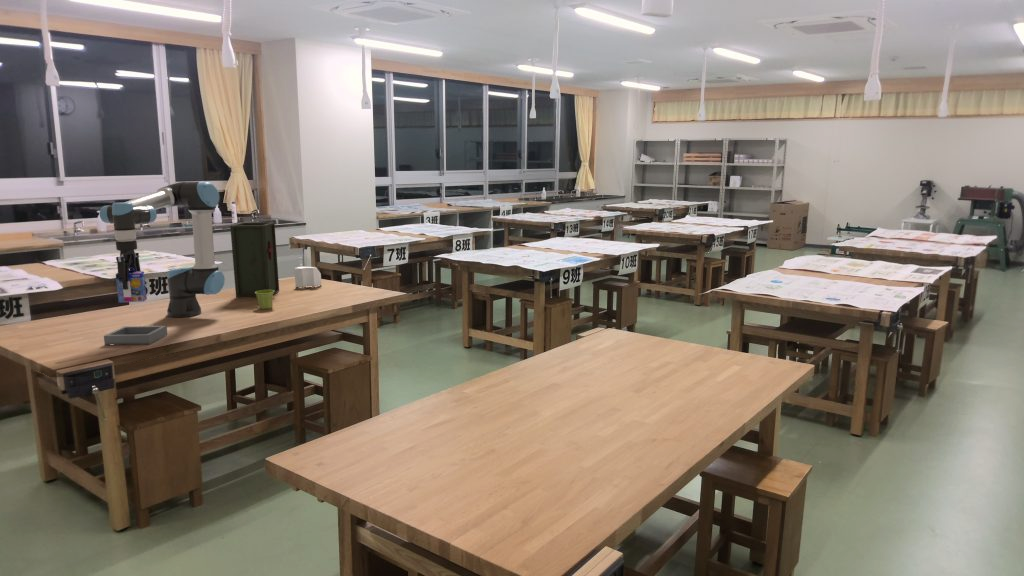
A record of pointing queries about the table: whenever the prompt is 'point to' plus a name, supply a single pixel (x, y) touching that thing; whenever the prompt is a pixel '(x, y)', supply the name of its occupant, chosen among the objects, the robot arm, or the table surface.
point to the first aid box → (254, 258)
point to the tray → (135, 335)
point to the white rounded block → (307, 276)
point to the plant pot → (265, 298)
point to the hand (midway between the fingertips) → (132, 295)
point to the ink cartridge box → (133, 287)
